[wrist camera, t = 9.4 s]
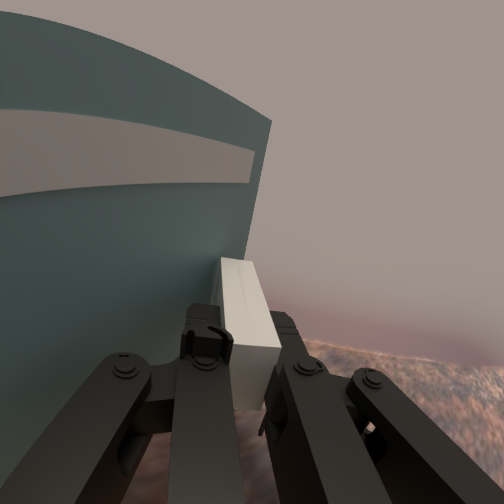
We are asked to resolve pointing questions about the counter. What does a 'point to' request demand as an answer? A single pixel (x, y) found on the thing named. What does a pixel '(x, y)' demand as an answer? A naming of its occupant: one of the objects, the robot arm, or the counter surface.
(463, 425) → the counter surface
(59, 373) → the gate door
